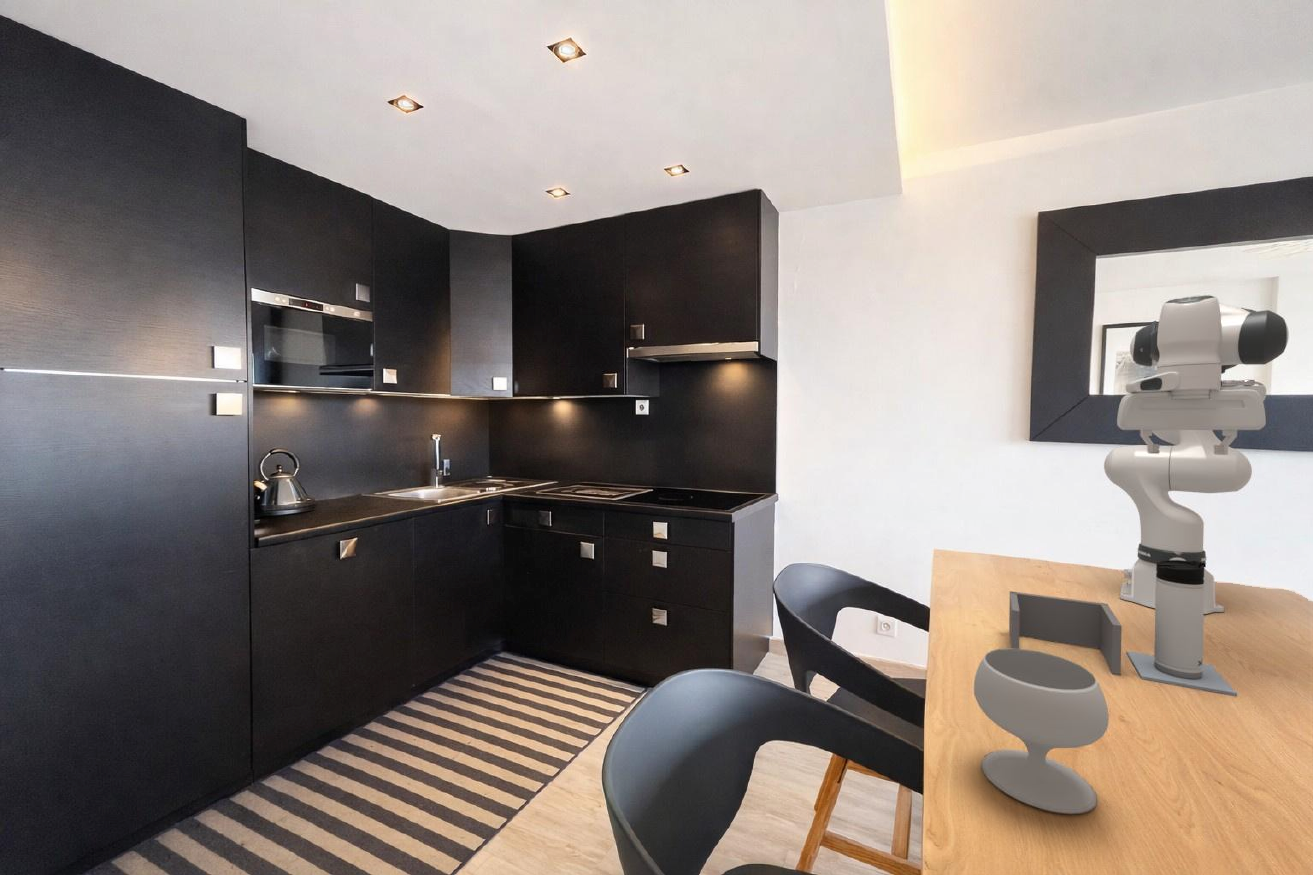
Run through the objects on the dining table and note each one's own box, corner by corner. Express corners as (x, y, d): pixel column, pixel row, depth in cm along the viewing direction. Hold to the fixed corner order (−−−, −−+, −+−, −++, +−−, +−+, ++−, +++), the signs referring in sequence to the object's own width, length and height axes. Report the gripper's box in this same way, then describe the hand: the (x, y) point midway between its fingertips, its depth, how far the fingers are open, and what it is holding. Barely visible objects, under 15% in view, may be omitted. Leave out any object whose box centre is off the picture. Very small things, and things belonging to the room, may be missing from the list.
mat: (1126, 653, 106) (1126, 650, 106) (1211, 667, 100) (1211, 664, 100) (1141, 678, 96) (1141, 676, 96) (1236, 696, 90) (1236, 693, 90)
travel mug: (1214, 681, 94) (1217, 566, 93) (1169, 677, 95) (1171, 565, 94) (1187, 665, 100) (1189, 557, 99) (1145, 662, 101) (1147, 556, 100)
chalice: (949, 765, 73) (950, 655, 72) (1016, 739, 79) (1017, 637, 78) (1062, 838, 60) (1064, 706, 60) (1132, 801, 66) (1134, 679, 65)
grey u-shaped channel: (1009, 632, 117) (1009, 591, 117) (1106, 648, 109) (1107, 603, 108) (1011, 655, 106) (1012, 610, 105) (1120, 675, 97) (1121, 625, 97)
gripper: (1258, 379, 100) (1256, 454, 101) (1115, 384, 111) (1114, 452, 111) (1274, 377, 95) (1272, 456, 95) (1122, 383, 106) (1121, 453, 106)
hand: (1186, 454), depth 103 cm, fingers open, 8 cm apart
